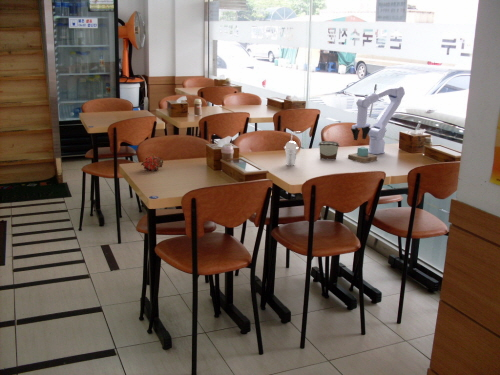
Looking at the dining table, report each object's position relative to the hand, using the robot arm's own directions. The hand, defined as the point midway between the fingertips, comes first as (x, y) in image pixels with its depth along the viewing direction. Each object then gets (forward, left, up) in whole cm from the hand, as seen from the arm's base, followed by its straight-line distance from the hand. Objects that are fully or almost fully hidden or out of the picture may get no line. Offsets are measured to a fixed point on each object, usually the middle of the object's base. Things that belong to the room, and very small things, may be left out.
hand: (359, 139), depth 333 cm
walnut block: (+8, +10, -10) cm, 16 cm away
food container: (+24, -3, -10) cm, 26 cm away
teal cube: (+8, +10, -7) cm, 14 cm away
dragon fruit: (+125, -33, -10) cm, 129 cm away
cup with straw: (+54, -2, -10) cm, 55 cm away
